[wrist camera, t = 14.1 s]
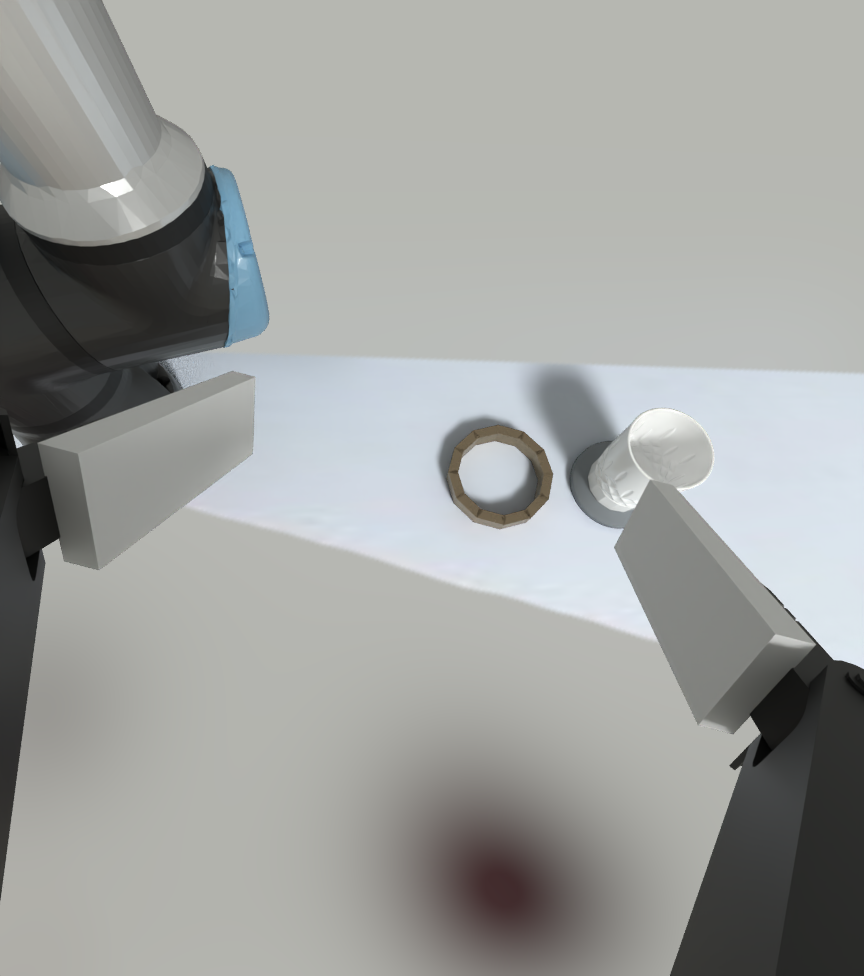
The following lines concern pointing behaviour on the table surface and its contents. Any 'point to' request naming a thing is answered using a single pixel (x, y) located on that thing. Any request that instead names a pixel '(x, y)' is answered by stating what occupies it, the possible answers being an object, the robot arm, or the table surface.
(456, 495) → the collar
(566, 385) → the table surface
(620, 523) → the coaster
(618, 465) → the white cup
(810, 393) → the table surface
